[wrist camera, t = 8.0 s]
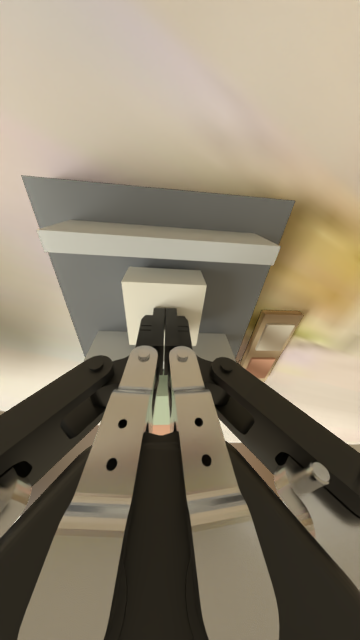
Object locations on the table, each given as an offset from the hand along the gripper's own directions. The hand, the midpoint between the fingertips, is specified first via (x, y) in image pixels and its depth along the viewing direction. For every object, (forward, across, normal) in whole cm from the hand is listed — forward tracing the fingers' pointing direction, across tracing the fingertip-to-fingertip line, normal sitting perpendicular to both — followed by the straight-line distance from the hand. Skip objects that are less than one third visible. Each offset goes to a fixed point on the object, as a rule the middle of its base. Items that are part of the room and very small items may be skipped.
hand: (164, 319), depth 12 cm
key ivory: (+5, 0, 0) cm, 5 cm away
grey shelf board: (+6, 0, +9) cm, 11 cm away
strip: (+6, -13, +9) cm, 17 cm away
